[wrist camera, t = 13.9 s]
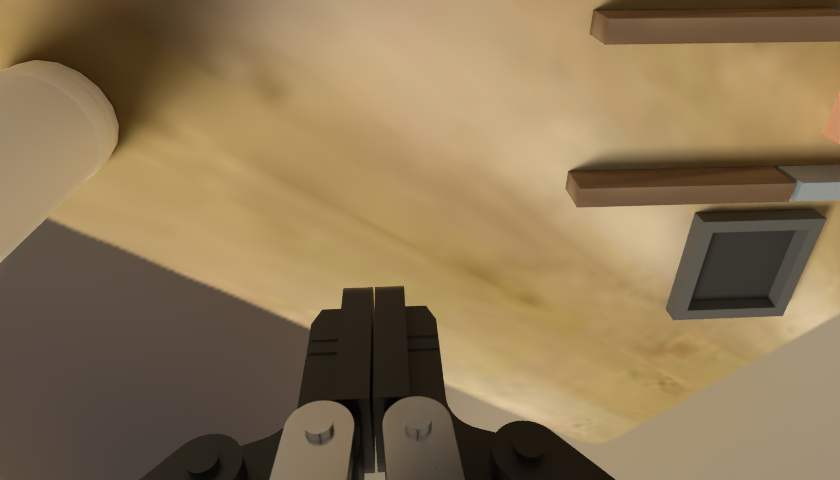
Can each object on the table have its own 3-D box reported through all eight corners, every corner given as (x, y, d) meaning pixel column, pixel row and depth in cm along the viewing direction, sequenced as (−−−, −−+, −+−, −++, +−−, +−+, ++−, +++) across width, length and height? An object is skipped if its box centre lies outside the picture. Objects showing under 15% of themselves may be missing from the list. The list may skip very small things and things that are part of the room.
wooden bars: (593, 10, 36) (609, 18, 33) (829, 7, 37) (862, 16, 34) (565, 188, 43) (577, 207, 40) (765, 183, 44) (788, 201, 41)
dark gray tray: (695, 212, 45) (704, 222, 43) (814, 209, 45) (826, 218, 44) (665, 309, 50) (673, 320, 49) (772, 305, 51) (782, 315, 49)
